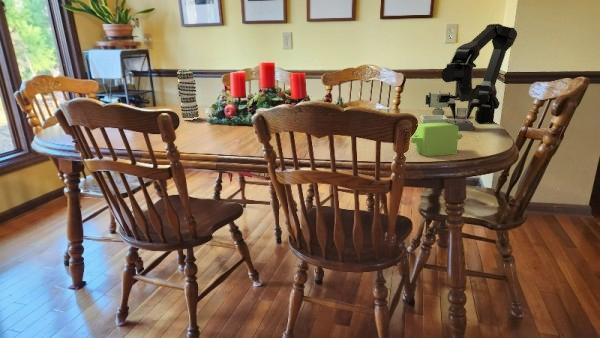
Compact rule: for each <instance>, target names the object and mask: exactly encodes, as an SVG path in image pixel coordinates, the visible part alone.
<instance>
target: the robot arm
mask: <svg viewBox="0 0 600 338" xmlns="http://www.w3.org/2000/svg"><path fill="white" fill-rule="evenodd" d="M517 37H518V31H517V30H516V29H515V28H514V27H510V26H507V25H506V26H505V25H502V24H500V23H489V24H487V25H486V26H485V28H484V29H483V30H482V31H481V32H480V33H479V34H478V35H476V36H475V38H473V39H472V40H471V41H468V42H466V43H463V44H461V45H460V46H458V47H457V48H456V50H455V52H454V53H453V56H452V58H451V59H450V62H449V63H446V67H445V68H443V70H442V71H441V74H440V75H441V79H442V81H443V82H445V83H453V82H455V90H454V91H455V92H454V95H453V96H450V95H451V94H450V95H448V94H438V95H437V101H438V102H439V103H447V104H448V105H449V108H450V110H451V114H452V118H453V120H456V115H457V110H456V105H457V103H456V102H455V101H460V102H468V103H467V111H466V120H470V116H471V115H472V112H473V110H474V109H475V108H476V110H475V112H474V113H475V114H474V121H475V122H477V123H478V124H495V120H494V119H495V110H497V109H499V106H500V101H499V99H498V97H497V93H498V91H497V88H496V84H497V80H498V76H499V74H500V71H501V68H502V66H503V63H504V59H505V56H506V54H507V51H508V50H509V49H510V48H511V47H513V45H514V43H515V41H516V39H517ZM490 42H491V44H492V47H493V50H492V52H491V56H490V59H489V61H488V64H487V68H486V71H485V72H484V73H485V74H484V77H483V80H482V82H481V83H480V84H476V85H475V87H474V88H473V73H474V68H476V67H477V65H476V64H475V61H476V59H477V58H478V57H479V56H480V51H481V50H482V49H483V48H484V47H485V46H487V44H489V43H490ZM477 123H476V124H477Z"/></svg>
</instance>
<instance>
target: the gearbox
mask: <svg viewBox="0 0 600 338" xmlns="http://www.w3.org/2000/svg"><path fill="white" fill-rule="evenodd" d="M417 124H418V128H417V130H415V134H413V136H412V137H411V139H410V143H411V144H415V145H414V146H415V148H414V149H415V150H414V151H416V152H418V153H419V154H421V155H423V156H429V157H431V156H447V155H456V154H458V153H457V152H458V141H459V140H461V139H463V134H462V133H461V132H459V130H458V126H457V125H454V124H449V122H448V123H425V124H421V123H417Z"/></svg>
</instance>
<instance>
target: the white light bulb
mask: <svg viewBox="0 0 600 338" xmlns="http://www.w3.org/2000/svg"><path fill="white" fill-rule="evenodd" d="M467 109H468V107H456V118H455V120H456V123H466V120H467Z"/></svg>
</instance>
